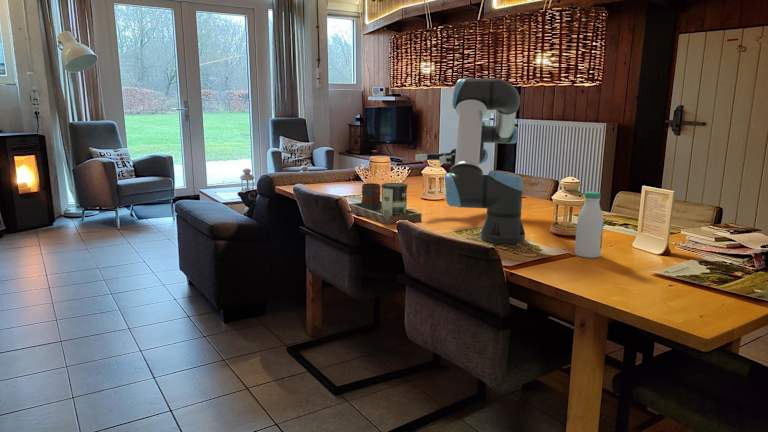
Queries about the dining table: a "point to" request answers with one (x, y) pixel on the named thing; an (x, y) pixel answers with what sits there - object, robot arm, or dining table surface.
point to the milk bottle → (589, 227)
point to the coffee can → (394, 199)
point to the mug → (371, 197)
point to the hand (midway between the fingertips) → (427, 158)
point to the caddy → (385, 219)
